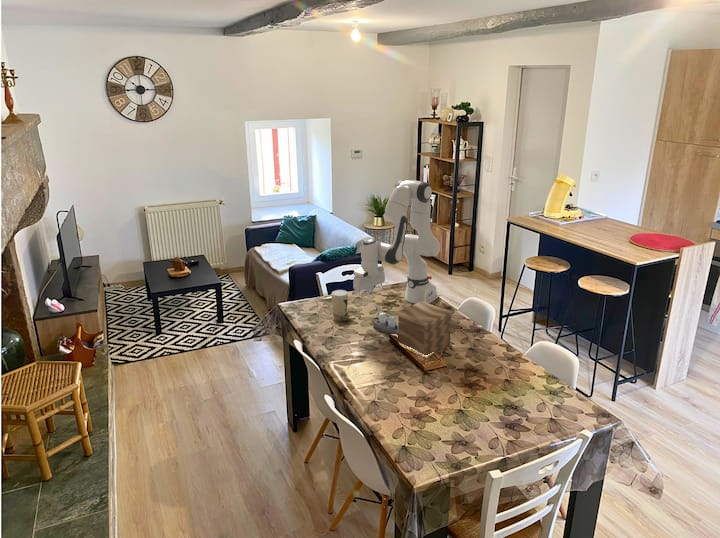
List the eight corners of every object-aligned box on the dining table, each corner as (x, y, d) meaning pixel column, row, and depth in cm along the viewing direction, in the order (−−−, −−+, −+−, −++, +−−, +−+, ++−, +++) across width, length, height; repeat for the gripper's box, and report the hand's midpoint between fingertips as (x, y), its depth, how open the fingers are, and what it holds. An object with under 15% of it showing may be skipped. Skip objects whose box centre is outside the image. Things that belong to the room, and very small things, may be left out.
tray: (382, 323, 295) (382, 310, 292) (410, 335, 281) (410, 321, 278) (373, 327, 290) (373, 313, 288) (401, 339, 277) (401, 325, 274)
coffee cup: (348, 316, 305) (347, 296, 300) (331, 316, 305) (330, 296, 301) (348, 309, 313) (348, 289, 309) (332, 309, 314) (331, 289, 310)
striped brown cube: (421, 333, 283) (421, 301, 277) (450, 345, 270) (452, 312, 264) (395, 345, 271) (396, 312, 265) (425, 358, 258) (426, 324, 252)
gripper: (379, 263, 295) (379, 287, 300) (351, 272, 282) (351, 297, 287) (387, 266, 291) (387, 290, 295) (359, 275, 278) (359, 301, 282)
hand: (369, 294), depth 291 cm, fingers closed
